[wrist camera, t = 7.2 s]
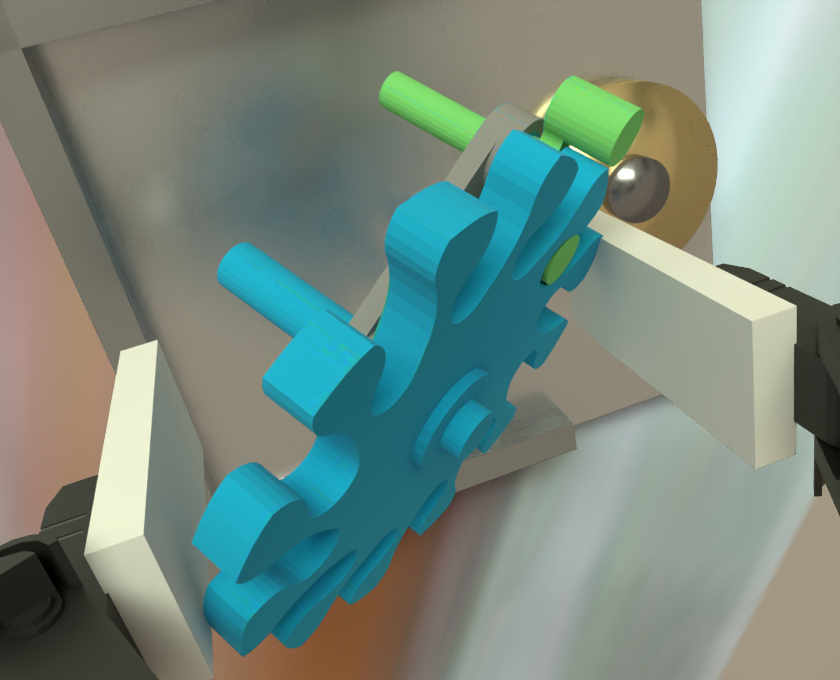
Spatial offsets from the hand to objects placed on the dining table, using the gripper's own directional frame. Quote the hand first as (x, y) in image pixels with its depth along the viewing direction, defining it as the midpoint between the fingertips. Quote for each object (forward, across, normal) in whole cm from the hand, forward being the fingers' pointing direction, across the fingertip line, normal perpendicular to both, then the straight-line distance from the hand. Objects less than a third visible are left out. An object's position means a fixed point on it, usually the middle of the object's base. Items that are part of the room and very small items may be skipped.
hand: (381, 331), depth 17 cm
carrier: (+6, +3, 0) cm, 7 cm away
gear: (0, 0, 0) cm, 1 cm away
